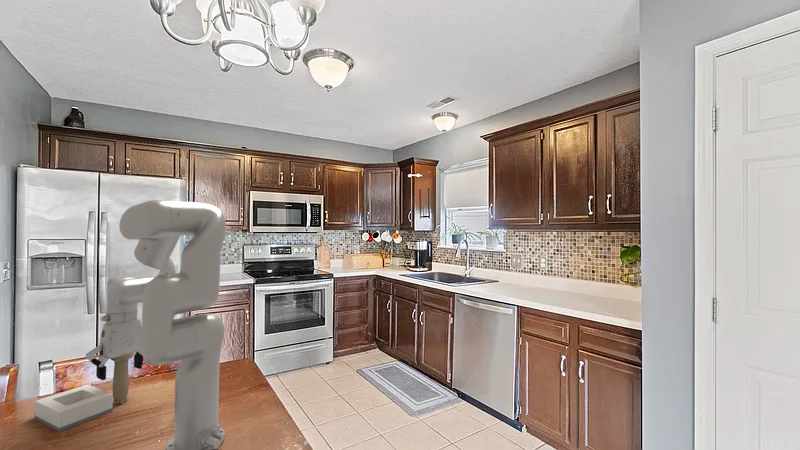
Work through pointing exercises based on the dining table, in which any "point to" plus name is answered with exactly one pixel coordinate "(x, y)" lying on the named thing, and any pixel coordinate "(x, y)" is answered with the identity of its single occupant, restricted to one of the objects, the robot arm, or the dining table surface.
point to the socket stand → (73, 407)
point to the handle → (121, 378)
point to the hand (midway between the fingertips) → (120, 373)
